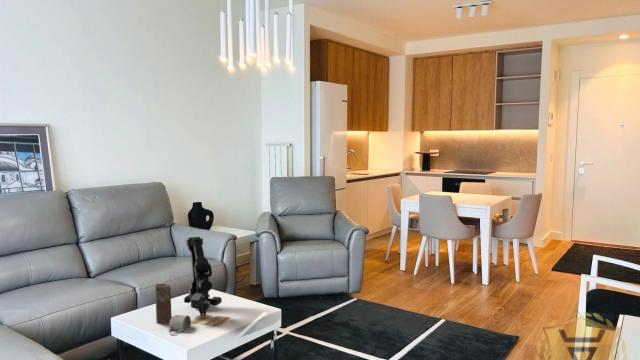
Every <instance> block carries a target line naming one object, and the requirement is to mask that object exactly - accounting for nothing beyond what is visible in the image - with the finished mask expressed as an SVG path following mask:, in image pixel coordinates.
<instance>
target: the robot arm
mask: <svg viewBox="0 0 640 360" xmlns="http://www.w3.org/2000/svg"><path fill="white" fill-rule="evenodd" d="M185 244H186V247H187V250H188V251H189V253H190V255H191V256H190V257H191V258H190V260H191V270H192V272H191V273H192V281H191V283H190V285H189V286H190V288H189V290H188V295H186V296H185V297H184V299H183V303H186V304H190V308H193V309H198V312H199V315H201V316H205V315H207V313H208V310H209V308H210V306H214V307H215V306H219V305H220V304H221V303H223V302H222V301H223V299H222V297H220V296H213V297H211V295H210V294H209V292H210V291H211V290H212V288H213V283H212V282H211V281H210V278H209V277H212V275H213V269H212V265H211V264H210V263H209V259H207V258H206V257H205V253H204V249H203V245H204V238H203V237H200V236H192V237H191V236H190V237H188V239H186V241H185ZM210 297H211V298H210Z"/></svg>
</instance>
